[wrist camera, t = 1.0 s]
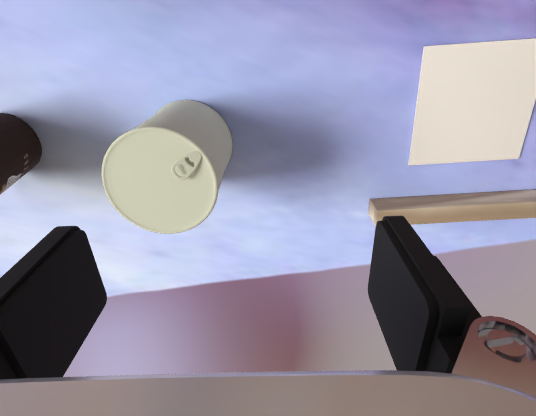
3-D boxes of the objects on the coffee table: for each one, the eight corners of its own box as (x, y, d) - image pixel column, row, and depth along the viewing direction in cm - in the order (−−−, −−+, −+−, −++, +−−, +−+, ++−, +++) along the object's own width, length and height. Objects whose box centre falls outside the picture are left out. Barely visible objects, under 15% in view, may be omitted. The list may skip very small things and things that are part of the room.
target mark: (423, 46, 32) (424, 46, 32) (551, 37, 32) (553, 37, 32) (408, 164, 38) (409, 165, 38) (517, 158, 37) (518, 158, 37)
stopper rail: (369, 198, 40) (377, 210, 37) (543, 188, 39) (563, 200, 36) (368, 213, 41) (375, 226, 38) (538, 204, 40) (557, 216, 37)
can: (249, 150, 37) (242, 196, 26) (189, 197, 40) (160, 256, 29) (191, 80, 34) (155, 100, 23) (130, 136, 36) (72, 177, 26)
